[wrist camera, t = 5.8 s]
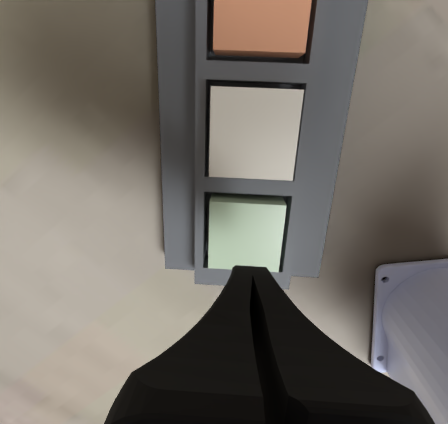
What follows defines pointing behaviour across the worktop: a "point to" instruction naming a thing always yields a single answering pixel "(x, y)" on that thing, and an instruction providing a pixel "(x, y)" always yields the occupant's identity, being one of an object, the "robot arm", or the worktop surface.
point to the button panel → (252, 78)
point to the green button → (245, 230)
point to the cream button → (254, 132)
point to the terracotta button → (261, 28)
